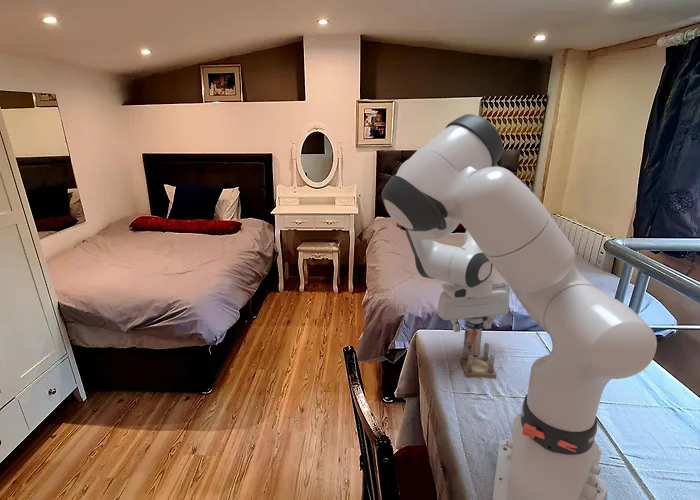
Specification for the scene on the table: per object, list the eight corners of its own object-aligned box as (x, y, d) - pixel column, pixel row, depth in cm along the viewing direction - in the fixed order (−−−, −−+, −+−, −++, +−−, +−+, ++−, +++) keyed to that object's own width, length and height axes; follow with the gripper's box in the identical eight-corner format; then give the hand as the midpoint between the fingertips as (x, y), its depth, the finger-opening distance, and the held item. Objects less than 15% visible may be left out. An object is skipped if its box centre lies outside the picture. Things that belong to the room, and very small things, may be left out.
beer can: (459, 349, 112) (462, 314, 108) (473, 346, 113) (476, 311, 110) (469, 358, 108) (472, 321, 104) (483, 355, 109) (486, 318, 105)
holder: (496, 378, 99) (498, 358, 97) (465, 377, 100) (467, 357, 98) (488, 360, 107) (490, 342, 105) (459, 359, 107) (461, 341, 105)
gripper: (504, 278, 108) (499, 320, 112) (436, 283, 105) (434, 327, 110) (516, 286, 102) (511, 331, 106) (445, 293, 99) (442, 338, 104)
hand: (471, 329), depth 108 cm, fingers open, 8 cm apart
